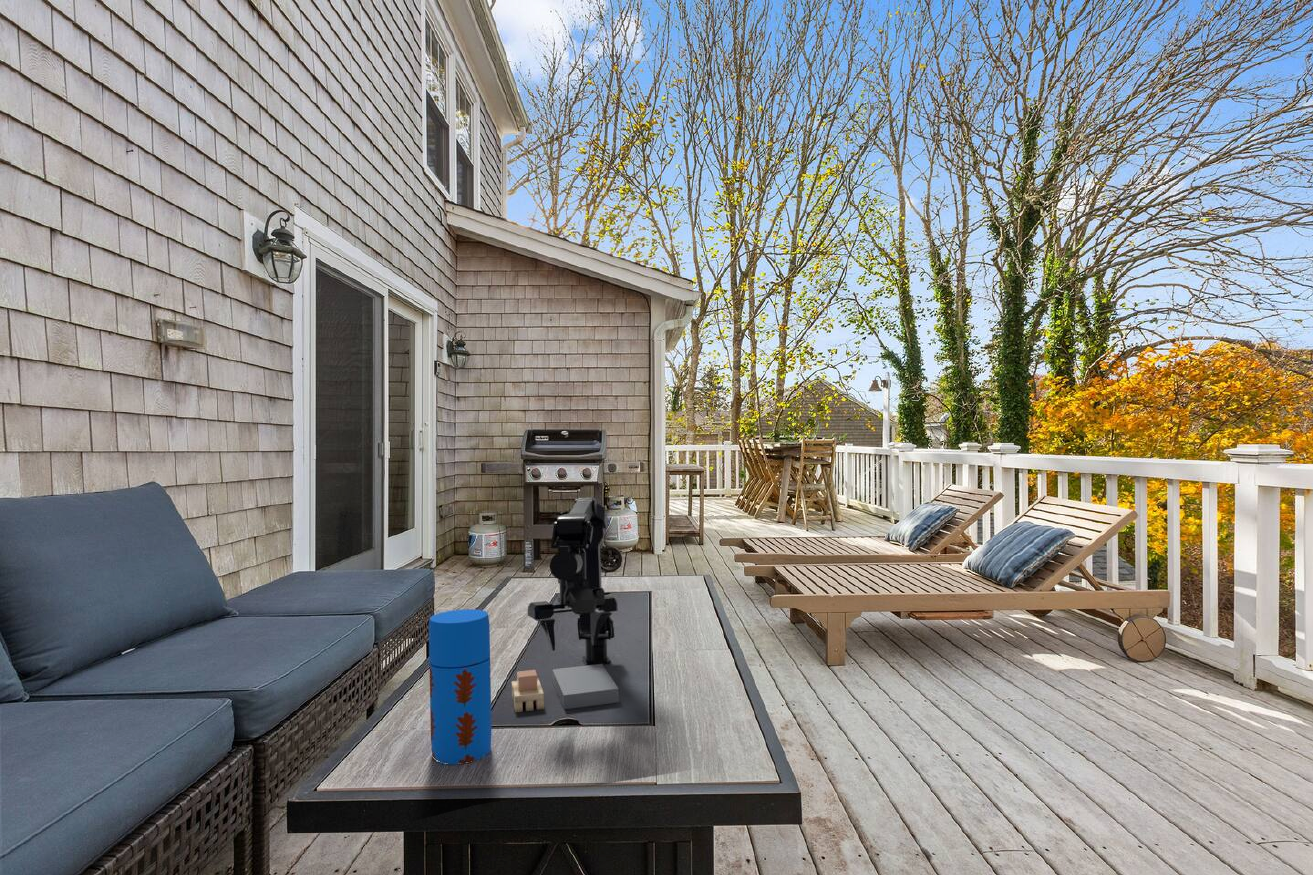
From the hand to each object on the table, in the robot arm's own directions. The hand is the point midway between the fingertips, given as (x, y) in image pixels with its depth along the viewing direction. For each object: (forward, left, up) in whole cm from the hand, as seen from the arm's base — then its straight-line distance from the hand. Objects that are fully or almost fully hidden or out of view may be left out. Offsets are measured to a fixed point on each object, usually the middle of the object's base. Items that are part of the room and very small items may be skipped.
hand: (573, 647), depth 146 cm
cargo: (-7, -9, -10) cm, 15 cm away
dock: (-9, +4, -13) cm, 16 cm away
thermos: (+14, -23, -13) cm, 30 cm away
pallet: (-7, -9, -13) cm, 17 cm away
